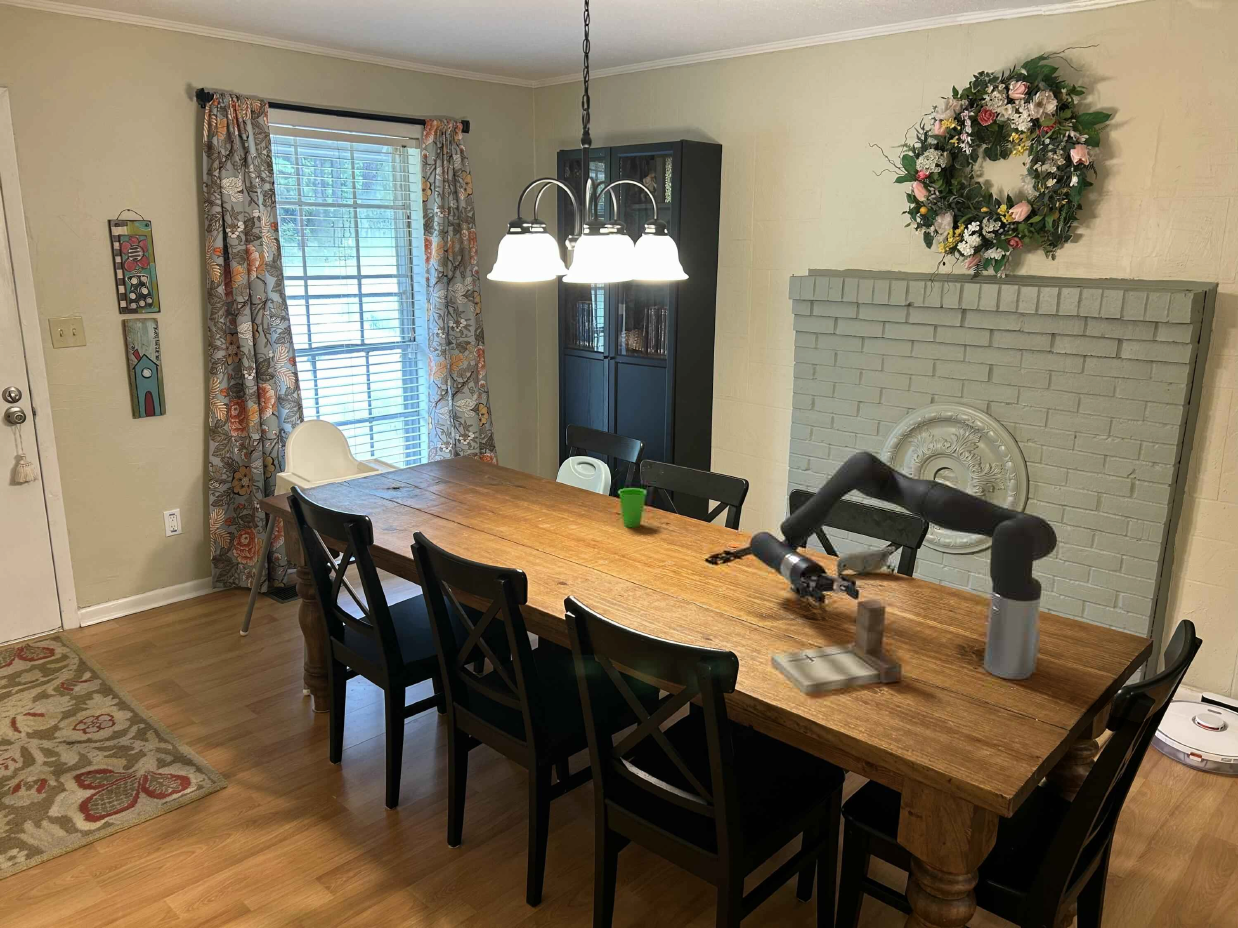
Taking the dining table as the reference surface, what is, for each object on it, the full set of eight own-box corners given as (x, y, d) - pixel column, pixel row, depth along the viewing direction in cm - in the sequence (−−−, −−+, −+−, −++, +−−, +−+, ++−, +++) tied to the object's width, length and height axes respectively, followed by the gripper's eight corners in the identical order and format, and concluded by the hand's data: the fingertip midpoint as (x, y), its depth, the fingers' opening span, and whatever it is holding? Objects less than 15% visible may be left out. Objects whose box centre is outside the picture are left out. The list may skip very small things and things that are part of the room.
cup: (652, 525, 289) (652, 491, 286) (632, 531, 282) (633, 497, 280) (631, 519, 295) (631, 486, 292) (611, 525, 288) (612, 491, 286)
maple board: (859, 650, 200) (860, 641, 200) (898, 678, 187) (899, 669, 187) (770, 664, 193) (771, 655, 192) (805, 694, 180) (805, 684, 180)
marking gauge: (864, 654, 197) (869, 596, 194) (900, 680, 185) (905, 618, 182) (848, 657, 195) (853, 598, 192) (883, 682, 184) (889, 621, 181)
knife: (763, 544, 272) (763, 540, 272) (779, 550, 267) (779, 545, 267) (699, 560, 258) (699, 556, 257) (715, 567, 253) (715, 562, 252)
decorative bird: (833, 571, 249) (835, 545, 248) (889, 569, 251) (891, 543, 250) (840, 578, 244) (841, 551, 243) (897, 576, 246) (899, 549, 244)
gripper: (776, 560, 212) (813, 584, 197) (830, 554, 217) (869, 578, 202) (775, 590, 214) (811, 617, 199) (827, 584, 218) (866, 609, 204)
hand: (840, 597), depth 200 cm, fingers open, 8 cm apart
